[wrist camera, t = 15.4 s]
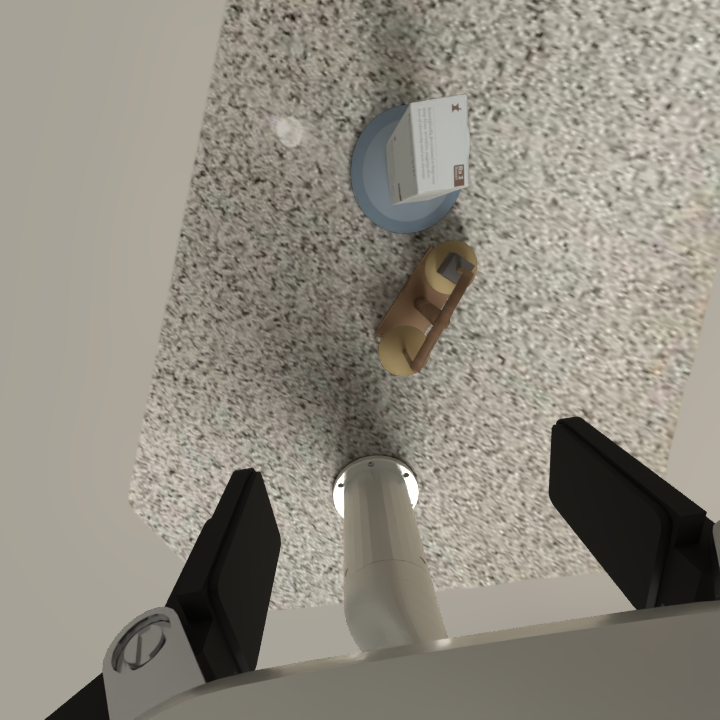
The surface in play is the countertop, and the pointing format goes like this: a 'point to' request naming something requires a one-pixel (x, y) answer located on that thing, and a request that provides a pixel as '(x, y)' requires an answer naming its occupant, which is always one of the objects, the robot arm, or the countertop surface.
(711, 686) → the robot arm
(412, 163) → the skincare box
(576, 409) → the countertop surface
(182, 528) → the countertop surface
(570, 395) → the countertop surface
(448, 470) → the countertop surface
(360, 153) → the dish
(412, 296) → the balance
